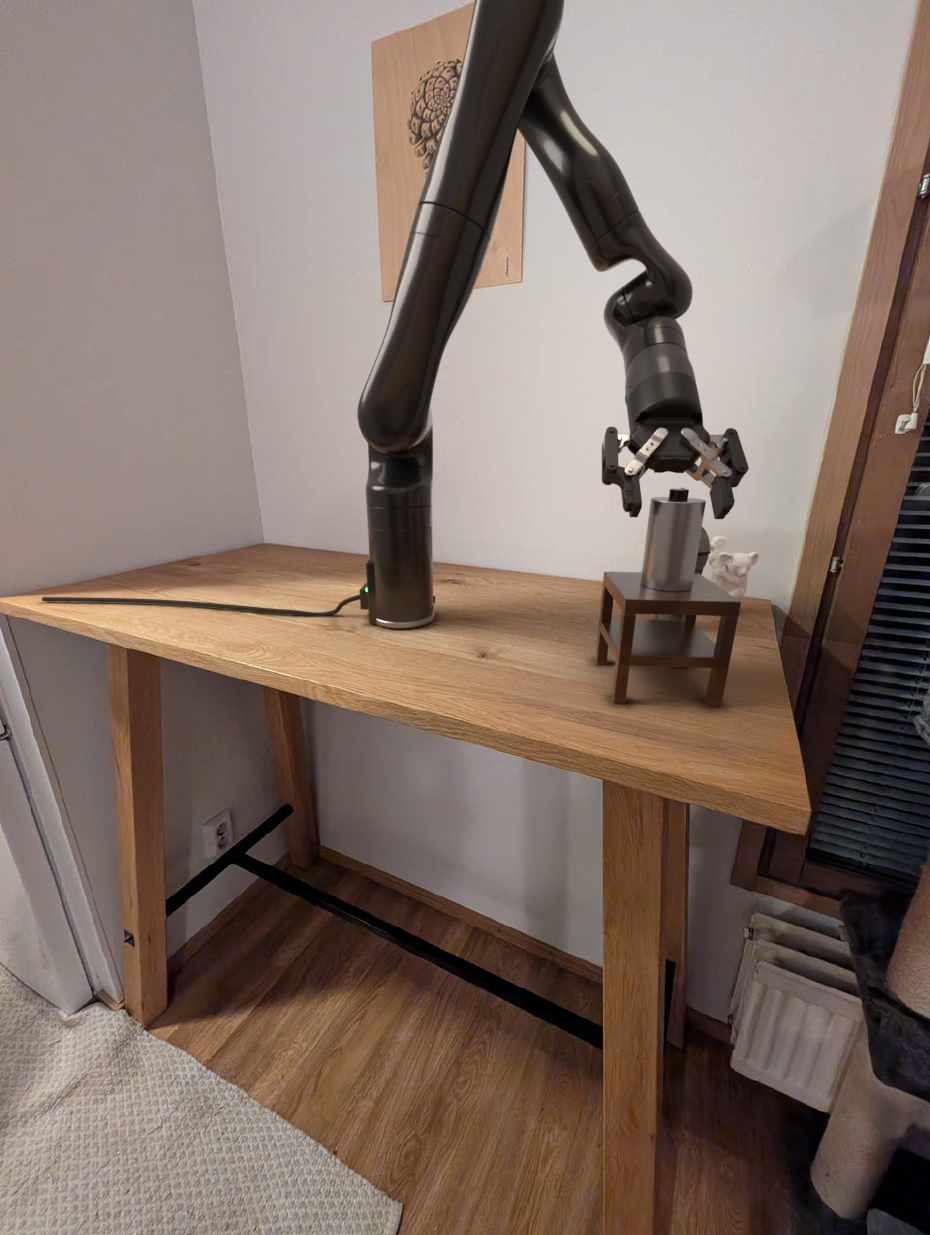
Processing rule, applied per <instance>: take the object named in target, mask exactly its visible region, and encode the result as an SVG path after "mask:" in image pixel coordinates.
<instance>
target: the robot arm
mask: <svg viewBox="0 0 930 1235" xmlns="http://www.w3.org/2000/svg"><path fill="white" fill-rule="evenodd" d="M564 9H565V0H474V4H473V8H472V14H471V21H470V26H469V31H468V36H467V41H466V46H465V49H464V54H463V60H462V64H461V68H460V73H459V77H458V80H457V85H456V89H455V92H454V96H453V100H452V103H451V105H450V109H449V111H448V114H447V116H446V119H445V123H444V126H443V127H442V131H441V133H440V136H439V139H438V141H437V144H436V147H435V150H434V152H433V156H432V158H431V162H430V165H429V167H428V168H429V169H428V172H427V174H426V177H425V181H424V184H423V186H422V190H421V192H420V194H419V195H420V196H419V199H418V202H417V206H416V209H415V212H414V216H413V220H412V223H411V226H410V230H409V234H408V237H407V240H406V245H405V250H404V253H403V257H402V261H401V265H400V268H399V269H400V270H399V274H398V277H397V282H396V285H395V286H396V287H395V291H394V296H393V299H392V305H391V310H390V315H389V319H388V324H387V327H386V330H385V332H384V336H383V338H382V341H381V344H380V347H379V350H378V352H377V354H376V357H375V359H374V362H373V365H372V367H371V370H370V372H369V375H368V377H367V380H366V382H365V384H364V387H363V389H362V392H361V394H360V397H359V400H358V404H357V409H356V410H357V412H356V413H357V414H356V417H357V424H358V428H359V430H360V433H361V434H362V437H363V439H364V440H365V441H366V442H367V457H368V470H367V479H366V483H365V503H366V518H367V519H366V520H367V521H366V523H367V537H368V539H367V540H368V554H369V555H368V557H369V558H368V559H366V561H365V573H366V582H365V583H364V584H363V585H362V586H361V587H360V589H359V594H357V595H354V596H350V597H348V598H345V599H344V600H342V601H341V602H339V603H338V605H337V606H336V607H335V608H334V609H332V610H329V611H323V612H315V611H314V612H312V611H305V610H296V609H287V608H286V609H283V608H272V607H260V606H250V605H239V604H229V603H227V604H226V603H216V602H203V601H191V600H190V601H189V600H175V599H161V598H160V599H158V598H157V599H156V598H136V597H135V598H134V597H133V598H132V597H87V596H85V597H83V596H79V597H78V596H42V597H41V601H42V602H63V603H64V602H65V603H66V602H68V603H69V602H71V603H72V602H77V603H78V602H79V603H85V602H86V603H123V604H124V603H127V604H128V603H129V604H153V605H154V604H155V605H156V604H157V605H172V606H188V607H200V608H201V607H202V608H211V609H212V608H213V609H225V610H234V611H235V610H236V611H246V612H256V613H257V612H258V613H266V614H276V615H277V614H278V615H292V616H302V617H313V618H314V617H320V618H321V617H331V616H334V615H337V614H338V613H339V612H340V611H341V610H342V609H343V607H345V606H346V605H347V604H350V603H353V602H355V601H359V604H360V605H359V606H360V610H368V624H369V625H376V626H380V627H383V628H387V629H401V630H403V629H413V628H419V627H423V626H426V625H428V624H430V623H432V622H433V621H434V620H435V610H434V609H435V605H436V596H435V595H434V543H433V542H434V540H433V539H434V538H433V536H434V533H433V532H434V530H433V484H434V421H433V411H432V408H431V403H432V397H433V393H434V389H435V384H436V380H437V377H438V372H439V368H440V365H441V362H442V359H443V355H444V353H445V350H446V347H447V344H448V343H449V340H450V338H451V337H452V334H453V332H454V330H455V329H456V327H457V325H458V323H459V321H460V319H461V317H462V315H463V313H464V311H465V309H466V308H467V305H468V302H469V301H470V298H471V296H472V294H473V292H474V290H475V287H476V285H477V282H478V279H479V276H480V274H481V271H482V267H483V265H484V263H485V259H486V256H487V252H488V250H489V247H490V244H491V241H492V237H493V236H494V235H493V234H494V231H495V227H496V223H497V219H498V216H499V212H500V207H501V205H502V204H501V203H502V199H503V195H504V191H505V187H506V182H507V178H508V173H509V167H510V163H511V157H512V155H513V154H512V153H513V149H514V145H515V141H516V135H517V132H518V131H519V133H520V134H521V136H522V138H523V139H524V140H525V142H526V144H527V145H528V147H529V148H530V150H531V151H532V153H533V155H534V156H535V158H536V159H537V161H538V163H539V164H540V166H541V168H542V169H543V171H544V173H545V174H546V176H547V178H548V180H549V182H550V183H551V185H552V187H553V189H554V191H555V192H556V194H557V197H558V198H559V200H560V202H561V204H562V206H563V208H564V211H565V213H566V215H567V216H568V218H569V221H570V222H571V225H572V227H573V229H574V231H575V233H576V236H577V237H578V239H579V241H580V244H581V245H582V247H583V249H584V251H585V252H586V255H587V257H588V259H589V262H590V264H591V266H593V269H595V270H596V272H599V273H605V272H608V271H610V270H612V269H614V268H617V267H618V266H620V265H622V264H624V263H627V262H629V261H635V262H638V263H640V264H641V265H642V266H643V267H644V268H645V269H644V270H643V271H642V272H640V273H638V275H636V276H635V277H634V278H632V279H631V280H629V281H628V282H627V283H626V284H624V285H623V286H621V287H620V288H619V289H617V290H616V291H614V292H613V293H612V294H611V295H610V297H609V298H608V299H607V301H606V302H605V306H604V309H603V315H602V316H603V322H604V325H605V328H606V330H607V331H608V333H609V335H610V336H611V338H612V340H613V341H614V342H615V344H616V345H617V346H618V348H619V351H620V353H621V356H622V360H623V368H624V376H625V383H624V394H625V396H624V403H625V405H626V412H627V420H628V430H629V433H619V430H618V429H617V427H615V426H608V427H607V428H606V429H605V433H604V436H603V440H602V444H601V483H602V484H603V485H605V486H611V485H616V486H618V487H619V489H620V493H621V504H622V509H623V511H624V512H625V513H628V515H629V516H628V517H629V518H638V517H639V515H640V513H641V510H642V508H643V499H642V490H641V483H640V480H641V478H642V477H643V476H644V475H645V474H646V473H647V472H648V471H649V470H652V471H653V473H655V474H657V473H658V474H663V473H667V472H669V473H675V474H684V473H686V474H687V475H688V476H690V477H691V479H693V480H694V481H696V482H699V481H701V482H702V483H703V484H704V485H705V486H707V487H708V488H709V489H710V490H709V497H710V503H711V508H712V513H713V518H714V520H724V519H725V517H726V516H727V515H728V514H729V513H730V512H731V510H732V509H733V508H734V506H735V503H736V501H735V500H736V499H735V497H734V491H733V488H737V487H738V486H739V485H740V483H741V481H742V479H743V478H744V477H745V475H746V474H747V472H748V471H749V469H750V467H749V464H748V461H747V460H748V459H747V458H746V454H745V451H744V448H743V445H742V442H741V439H740V436H739V433H738V431H737V429H735V428H732V427H729V428H727V429H726V430H725V431H724V433H721V434H710V433H709V432H708V431H707V429H706V428H705V427H704V415H703V408H702V405H701V398H700V395H699V390H698V387H697V381H696V375H695V371H694V367H693V364H692V362H691V361H690V358H689V354H688V349H687V343H686V339H685V334H684V331H683V328H682V326H681V324H680V323H679V322H678V321H677V320H678V319H680V318H681V317H683V315H685V314H686V313H687V312H688V310H689V309H690V307H691V305H692V302H693V301H692V300H693V293H694V290H693V283H692V281H691V278H690V276H689V275H688V273H687V272H686V270H685V269H684V268H683V267H682V266H681V265H680V263H679V262H678V261H677V260H676V259H675V258H674V257H673V256H672V255H671V253H669V252H668V251H667V250H666V248H665V247H664V246H663V245H662V244H661V243H660V241H659V240H658V239H657V238H656V236H655V235H654V234H653V232H652V231H651V229H650V227H649V226H648V224H647V222H646V221H645V218H644V216H643V214H642V212H641V210H640V208H639V206H638V202H636V199H635V197H634V195H633V193H632V190H631V188H630V186H629V183H628V181H627V179H626V177H625V175H624V173H623V171H622V169H621V168H620V166H619V164H618V163H617V161H616V160H615V158H614V157H613V156H612V154H611V153H610V151H609V150H608V148H606V146H605V145H604V144H603V143H602V142H601V141H600V140H599V138H598V137H596V135H595V134H594V133H593V132H592V131H591V130H590V129H589V128H588V126H587V125H586V123H585V122H584V121H583V120H582V118H581V117H580V115H579V114H578V111H576V109H575V106H574V105H573V103H572V101H571V99H570V97H569V95H568V93H567V90H566V88H565V85H564V81H563V78H562V75H561V74H560V69H559V66H558V62H557V60H556V56H555V53H554V50H555V46H556V44H557V40H558V37H559V34H560V30H561V26H562V22H563V18H564ZM625 447H626V448H627V449H628V451H629V452H630V453H631V454H632V455H633V456H634V457H633V459H631V460H630V462H629V463H627V465H626V467H624V466H620V465H619V454H620V453H622V451H623V449H624V448H625ZM699 459H700V460H701V462H700V464H699V465H697V464H696V463H697V461H698V460H699ZM714 474H715V475H714Z"/></svg>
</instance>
